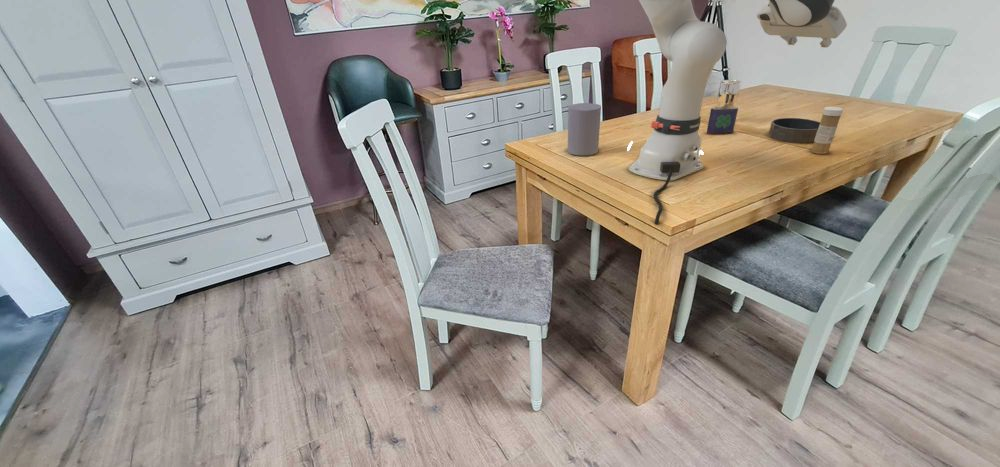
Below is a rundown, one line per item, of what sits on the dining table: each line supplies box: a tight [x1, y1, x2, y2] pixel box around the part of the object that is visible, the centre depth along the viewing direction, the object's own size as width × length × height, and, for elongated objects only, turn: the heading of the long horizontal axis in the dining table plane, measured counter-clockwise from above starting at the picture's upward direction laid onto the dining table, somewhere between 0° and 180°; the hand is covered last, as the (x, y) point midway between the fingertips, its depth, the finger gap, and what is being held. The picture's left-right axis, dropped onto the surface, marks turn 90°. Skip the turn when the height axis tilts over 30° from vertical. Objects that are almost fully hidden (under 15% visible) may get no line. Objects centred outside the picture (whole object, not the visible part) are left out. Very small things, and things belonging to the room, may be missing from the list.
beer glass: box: [716, 79, 742, 108], centre depth 159 cm, size 7×7×15 cm
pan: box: [768, 117, 821, 144], centre depth 141 cm, size 15×15×4 cm
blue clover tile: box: [706, 103, 739, 135], centre depth 147 cm, size 9×3×11 cm, turn 87°
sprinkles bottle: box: [810, 106, 844, 155], centre depth 124 cm, size 5×5×14 cm
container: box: [566, 102, 602, 157], centre depth 137 cm, size 10×10×15 cm
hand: (809, 44), depth 112 cm, fingers open, 8 cm apart
